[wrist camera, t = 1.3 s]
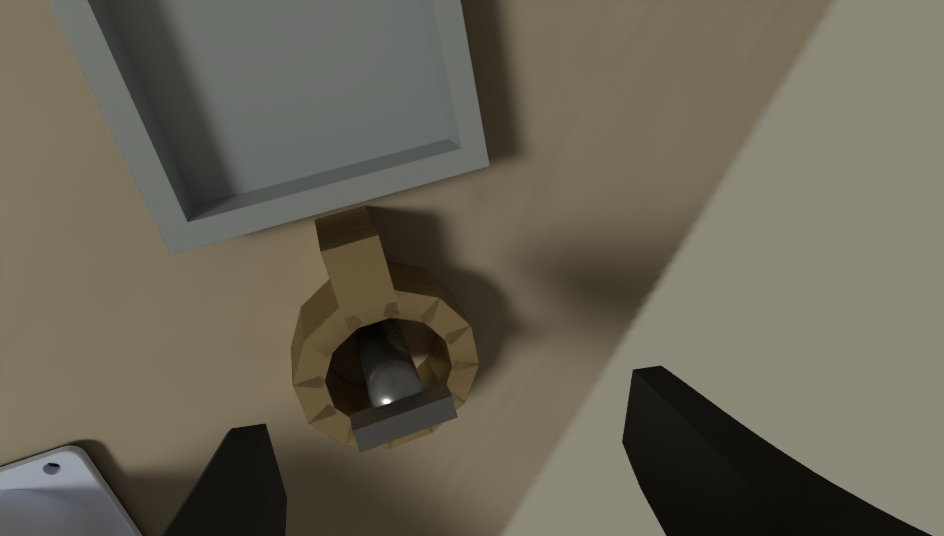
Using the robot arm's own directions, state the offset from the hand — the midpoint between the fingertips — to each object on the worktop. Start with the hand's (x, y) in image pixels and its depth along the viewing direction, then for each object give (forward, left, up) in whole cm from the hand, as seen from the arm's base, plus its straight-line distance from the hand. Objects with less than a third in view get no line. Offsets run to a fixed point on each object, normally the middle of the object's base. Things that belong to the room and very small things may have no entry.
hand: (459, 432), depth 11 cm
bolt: (-1, -4, -11) cm, 12 cm away
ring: (-1, -3, -11) cm, 11 cm away
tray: (-1, +8, -11) cm, 13 cm away
